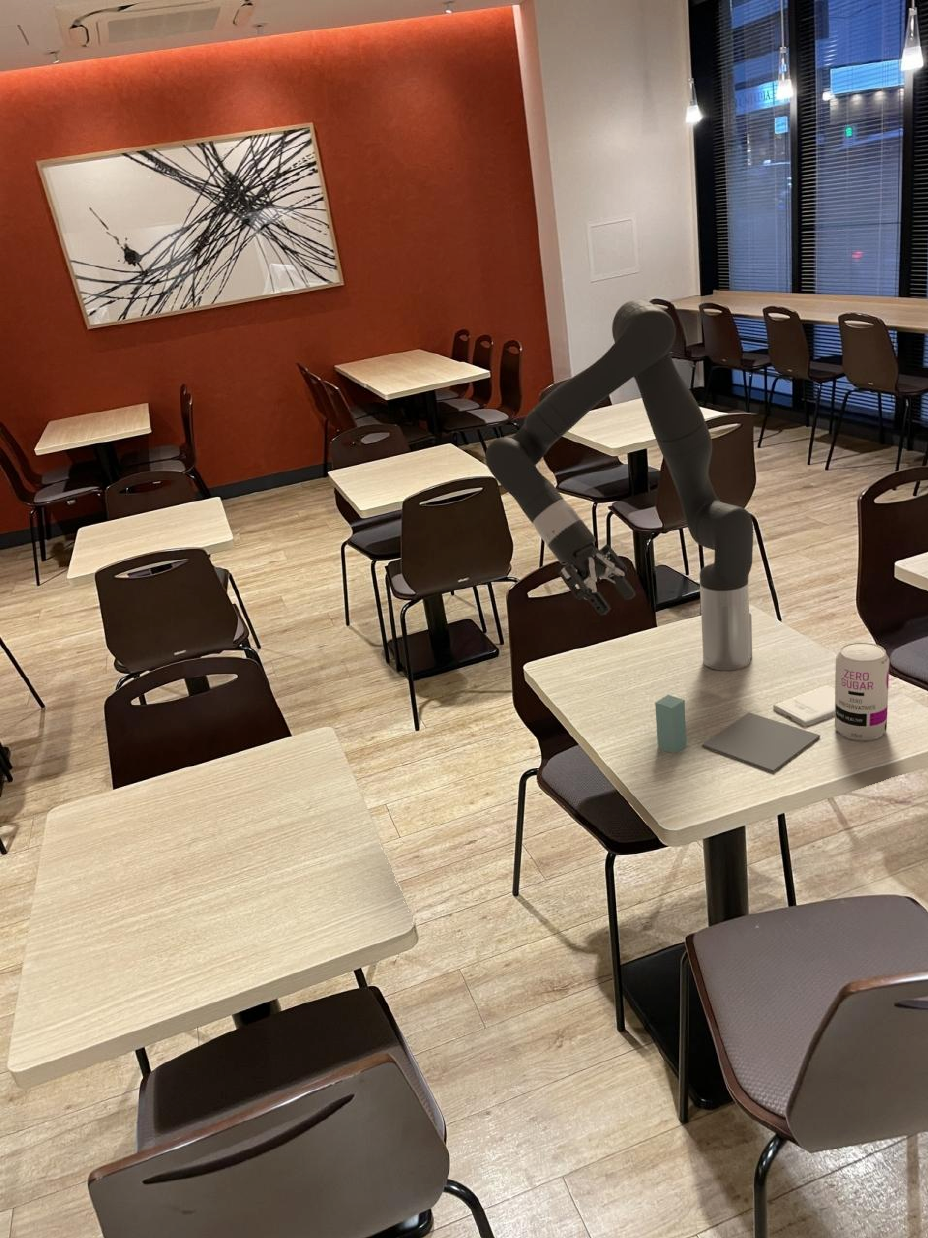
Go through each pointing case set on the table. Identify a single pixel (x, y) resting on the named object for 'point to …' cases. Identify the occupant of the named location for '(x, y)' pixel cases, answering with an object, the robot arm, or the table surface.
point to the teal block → (671, 724)
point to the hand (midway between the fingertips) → (619, 605)
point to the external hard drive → (809, 706)
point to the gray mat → (761, 742)
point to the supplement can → (861, 691)
